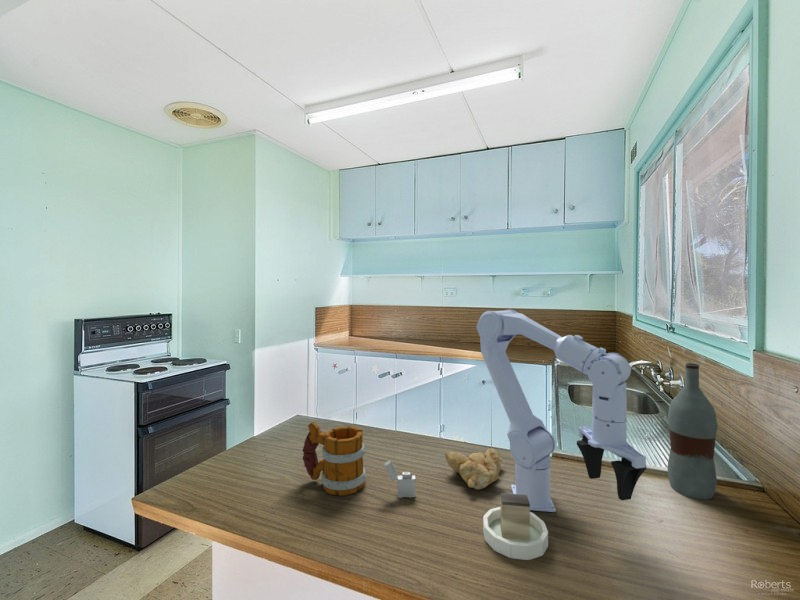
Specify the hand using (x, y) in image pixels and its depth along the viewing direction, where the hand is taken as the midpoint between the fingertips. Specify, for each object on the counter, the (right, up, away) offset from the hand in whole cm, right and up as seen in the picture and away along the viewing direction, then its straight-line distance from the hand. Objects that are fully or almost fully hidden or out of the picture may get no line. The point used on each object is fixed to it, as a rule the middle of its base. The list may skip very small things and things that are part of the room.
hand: (608, 487), depth 69 cm
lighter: (-40, -10, +15) cm, 44 cm away
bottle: (+29, -9, +16) cm, 34 cm away
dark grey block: (-18, -9, 0) cm, 20 cm away
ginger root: (-21, -10, +22) cm, 32 cm away
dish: (-18, -10, 0) cm, 21 cm away
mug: (-57, -10, +20) cm, 61 cm away
